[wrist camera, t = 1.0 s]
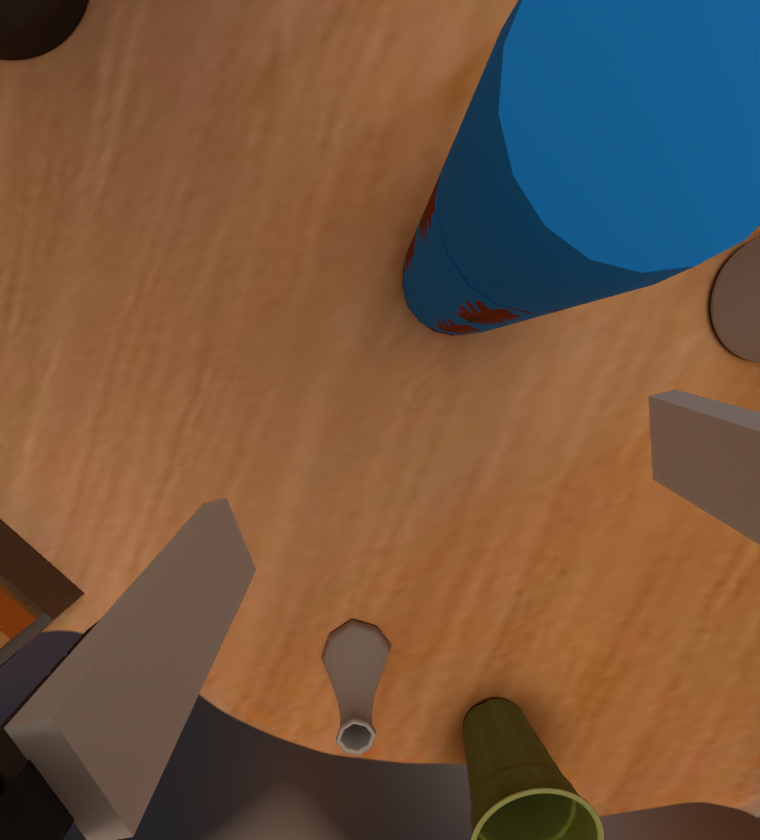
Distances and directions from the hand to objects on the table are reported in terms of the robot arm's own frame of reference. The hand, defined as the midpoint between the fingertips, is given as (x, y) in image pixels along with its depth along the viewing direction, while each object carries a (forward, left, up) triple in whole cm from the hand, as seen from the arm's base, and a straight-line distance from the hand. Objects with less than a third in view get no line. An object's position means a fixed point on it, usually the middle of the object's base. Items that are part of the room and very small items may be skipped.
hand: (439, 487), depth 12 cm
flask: (+19, -20, -26) cm, 38 cm away
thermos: (-4, +13, -26) cm, 30 cm away
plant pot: (+37, -15, -26) cm, 47 cm away
